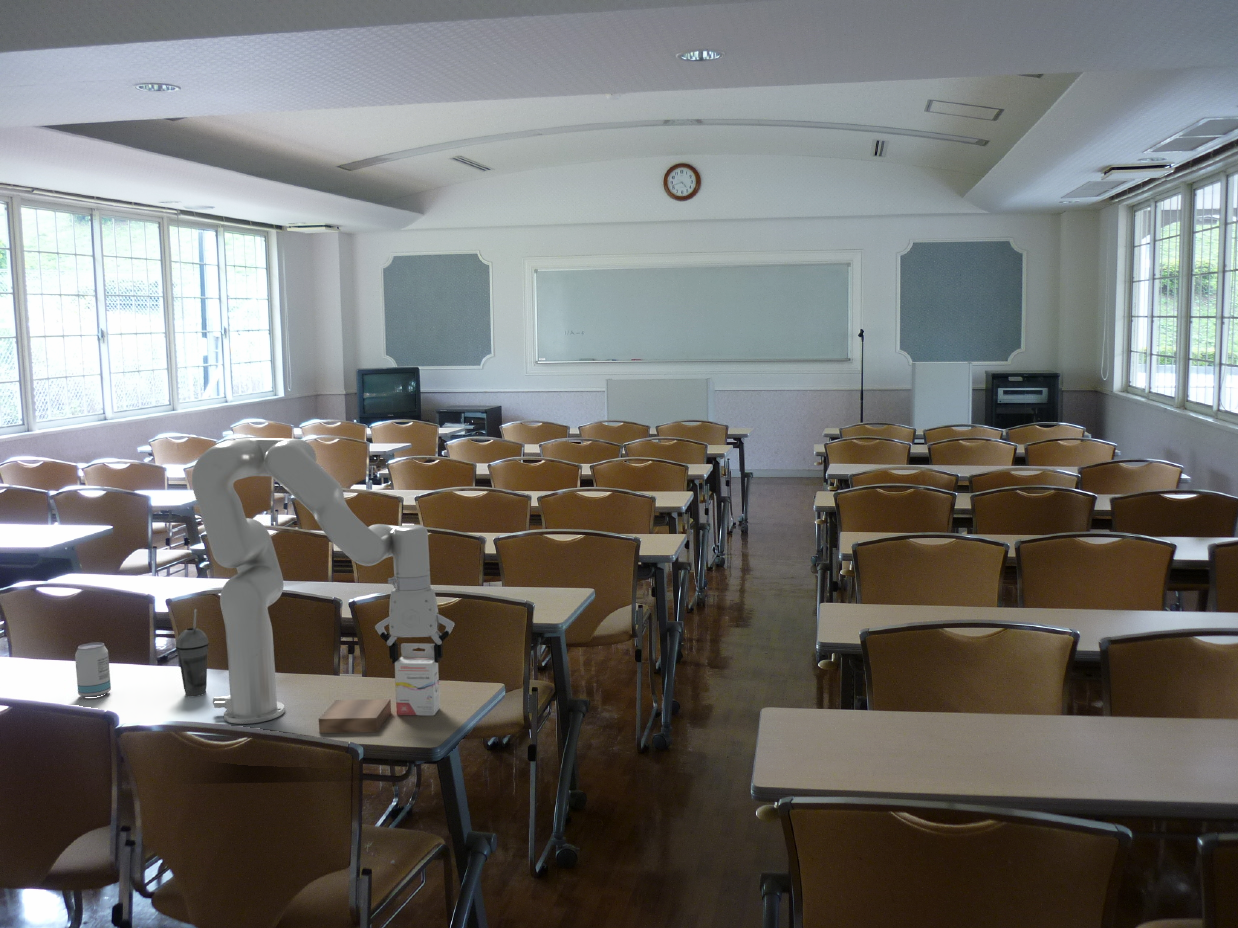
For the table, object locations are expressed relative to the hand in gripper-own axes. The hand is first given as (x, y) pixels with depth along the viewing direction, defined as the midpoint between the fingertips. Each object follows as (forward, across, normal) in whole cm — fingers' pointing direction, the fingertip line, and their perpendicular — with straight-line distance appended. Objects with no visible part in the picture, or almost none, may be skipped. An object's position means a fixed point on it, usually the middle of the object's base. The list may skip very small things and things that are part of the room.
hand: (416, 661), depth 228 cm
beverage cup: (+11, -56, +16) cm, 60 cm away
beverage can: (+11, -80, +16) cm, 83 cm away
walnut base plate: (+11, -12, -6) cm, 18 cm away
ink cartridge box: (+12, 0, 0) cm, 12 cm away
